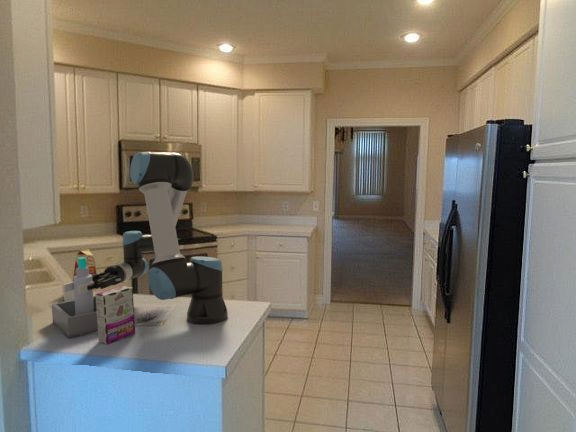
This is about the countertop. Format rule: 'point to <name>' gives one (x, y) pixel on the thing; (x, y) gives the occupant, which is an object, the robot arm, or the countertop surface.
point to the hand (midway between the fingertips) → (71, 289)
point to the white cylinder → (68, 295)
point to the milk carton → (89, 262)
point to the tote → (74, 319)
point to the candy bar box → (115, 314)
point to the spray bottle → (85, 299)
